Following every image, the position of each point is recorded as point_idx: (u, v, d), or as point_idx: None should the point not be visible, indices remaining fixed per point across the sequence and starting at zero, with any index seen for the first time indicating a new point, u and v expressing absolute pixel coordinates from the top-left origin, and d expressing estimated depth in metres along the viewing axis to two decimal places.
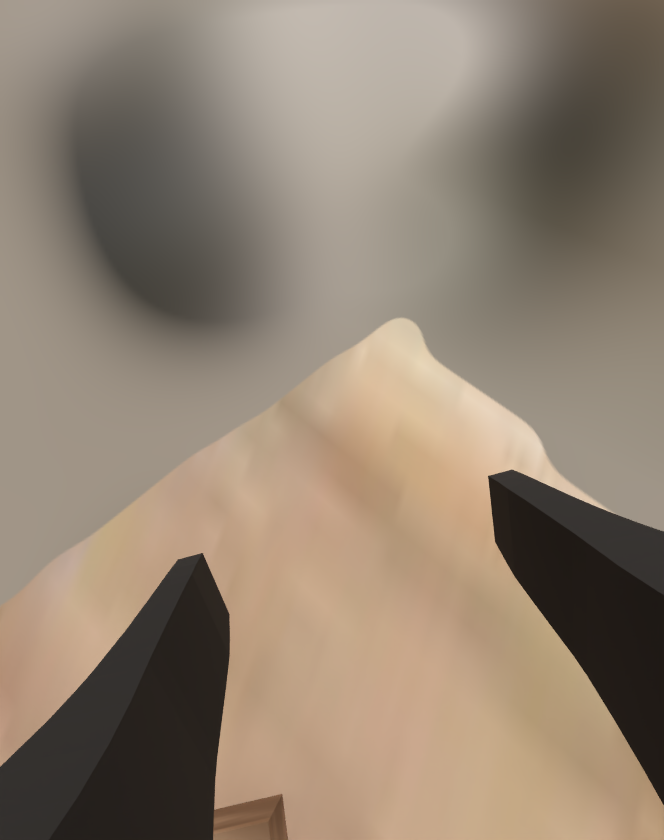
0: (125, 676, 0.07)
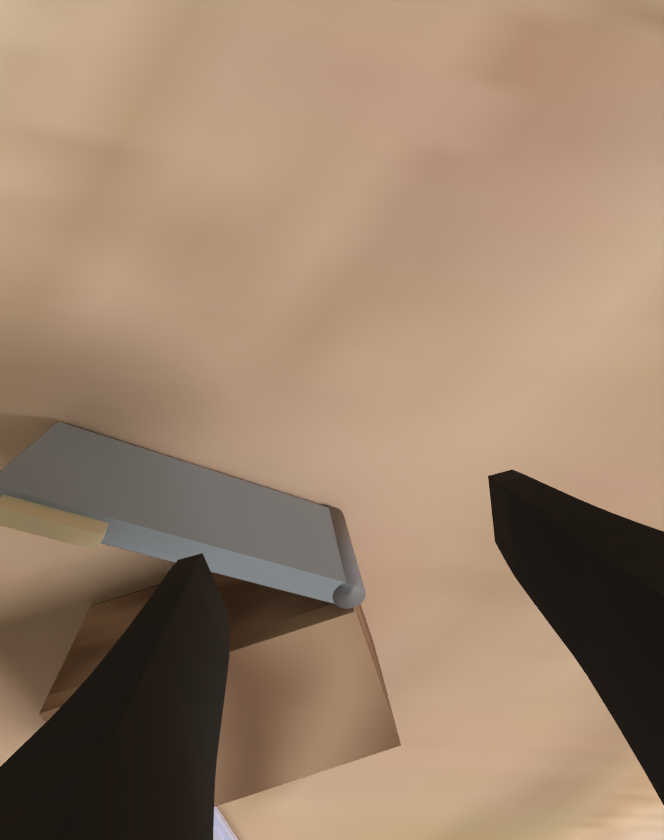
0: (125, 676, 0.07)
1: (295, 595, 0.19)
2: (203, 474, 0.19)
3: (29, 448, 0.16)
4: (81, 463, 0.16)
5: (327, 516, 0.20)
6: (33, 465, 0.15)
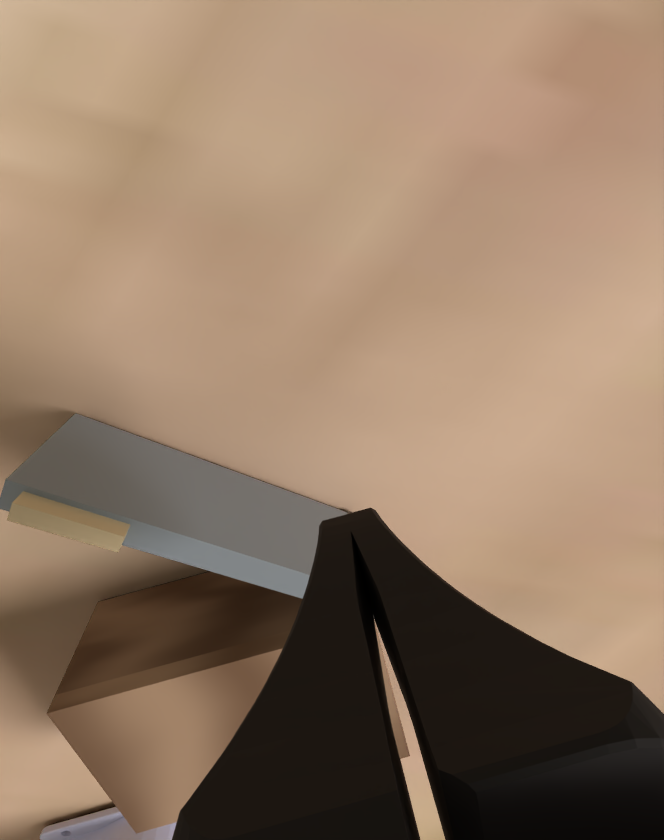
0: (340, 617, 0.07)
1: None
2: (222, 474, 0.18)
3: (47, 441, 0.15)
4: (100, 459, 0.16)
5: None
6: (53, 460, 0.14)
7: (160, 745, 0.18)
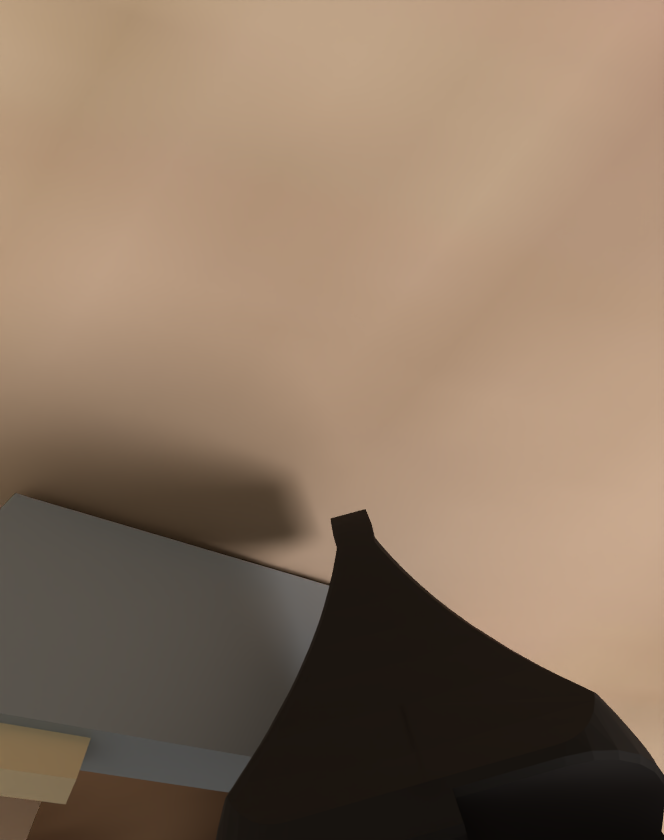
0: (369, 609, 0.07)
1: None
2: (248, 576, 0.12)
3: None
4: (46, 585, 0.09)
5: None
6: None
7: None
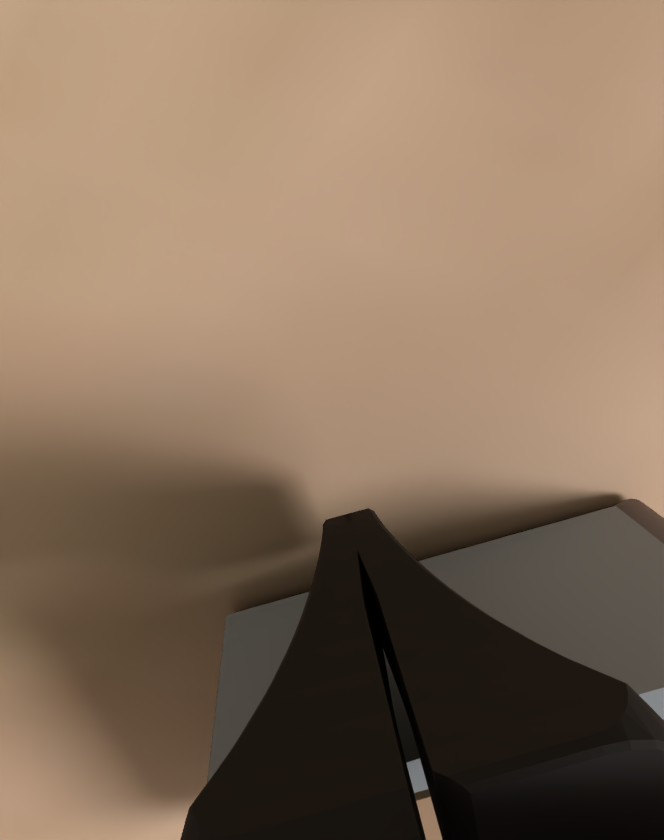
0: (346, 615, 0.07)
1: None
2: None
3: (219, 695, 0.11)
4: None
5: (630, 524, 0.13)
6: (239, 727, 0.10)
7: None
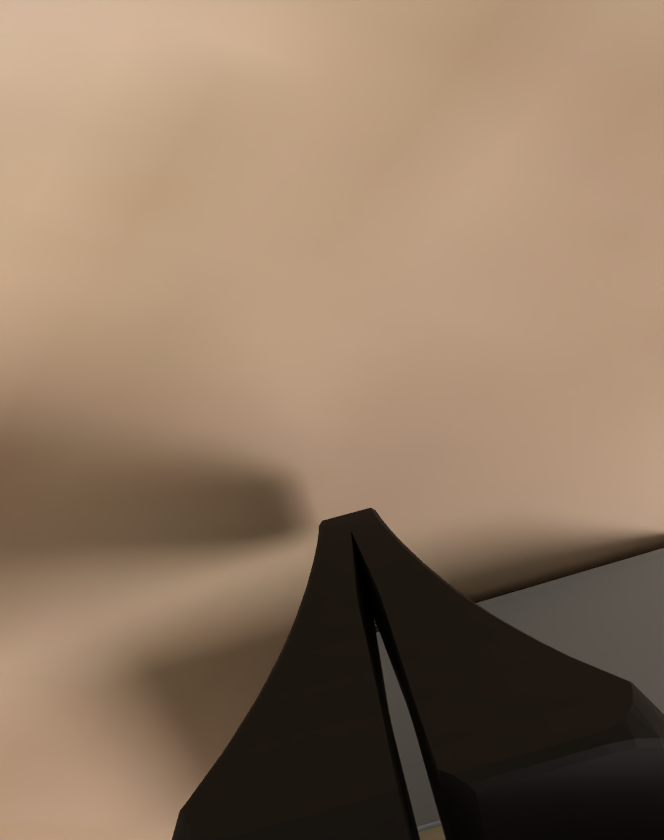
0: (340, 617, 0.07)
1: None
2: (502, 611, 0.14)
3: None
4: None
5: None
6: None
7: None
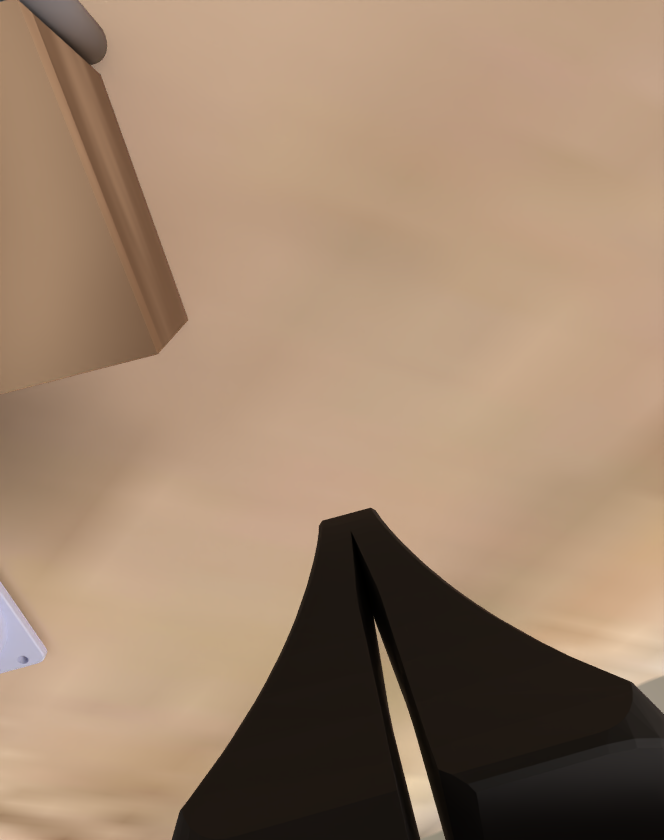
0: (340, 617, 0.07)
1: None
2: None
3: None
4: None
5: None
6: None
7: None
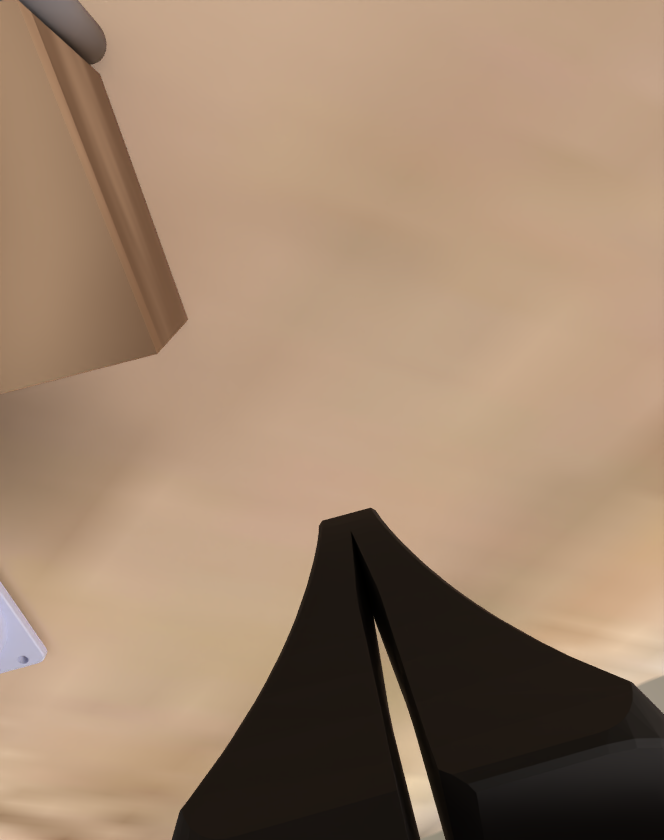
0: (340, 617, 0.07)
1: None
2: None
3: None
4: None
5: None
6: None
7: None
